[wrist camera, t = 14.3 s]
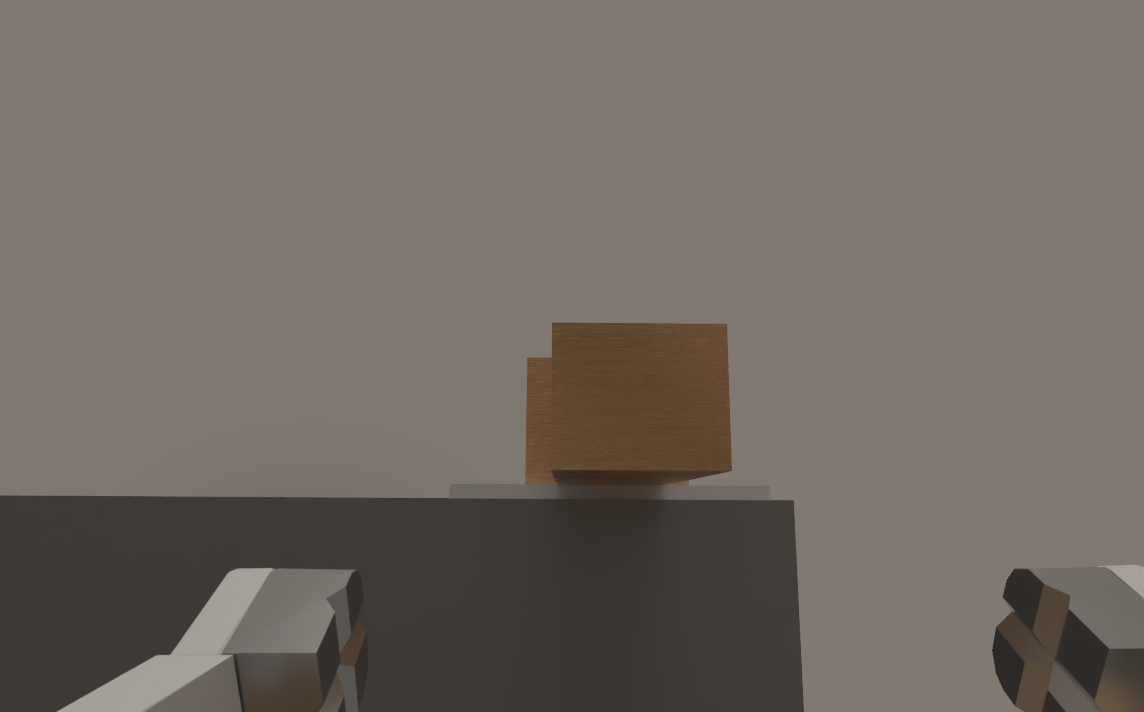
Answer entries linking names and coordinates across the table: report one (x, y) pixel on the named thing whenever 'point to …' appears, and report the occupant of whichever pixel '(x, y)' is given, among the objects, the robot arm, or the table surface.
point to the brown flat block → (629, 405)
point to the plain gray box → (432, 592)
